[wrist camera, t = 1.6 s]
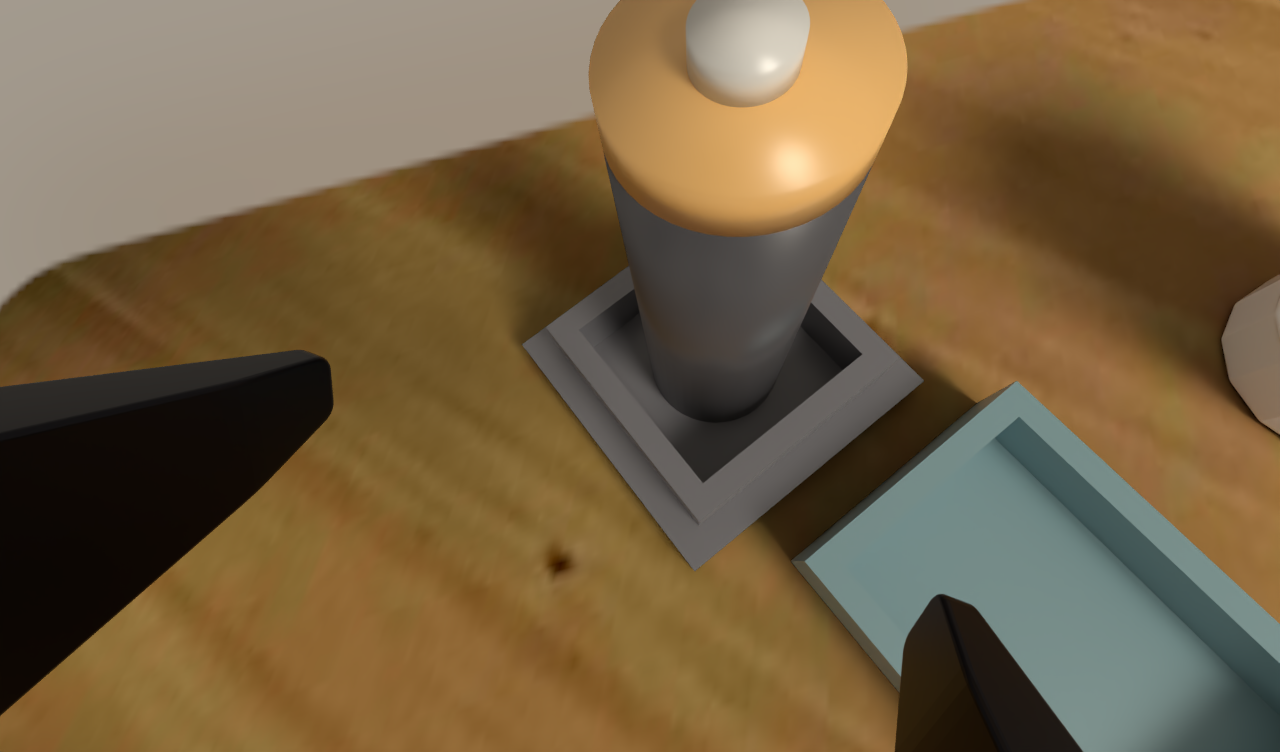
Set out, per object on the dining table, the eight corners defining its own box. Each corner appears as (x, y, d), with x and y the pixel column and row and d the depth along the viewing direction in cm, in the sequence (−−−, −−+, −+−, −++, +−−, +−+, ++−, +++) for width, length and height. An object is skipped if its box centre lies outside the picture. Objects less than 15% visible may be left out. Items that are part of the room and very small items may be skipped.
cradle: (694, 570, 19) (694, 572, 17) (529, 353, 22) (504, 323, 19) (913, 389, 21) (949, 361, 18) (729, 205, 23) (733, 156, 21)
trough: (1113, 951, 15) (1192, 1026, 13) (790, 560, 19) (804, 561, 17) (1321, 734, 16) (1432, 765, 14) (977, 402, 20) (1016, 381, 18)
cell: (706, 448, 20) (727, 232, 7) (627, 354, 21) (518, 19, 8) (804, 370, 20) (1001, 27, 7) (722, 282, 21) (762, -141, 8)
